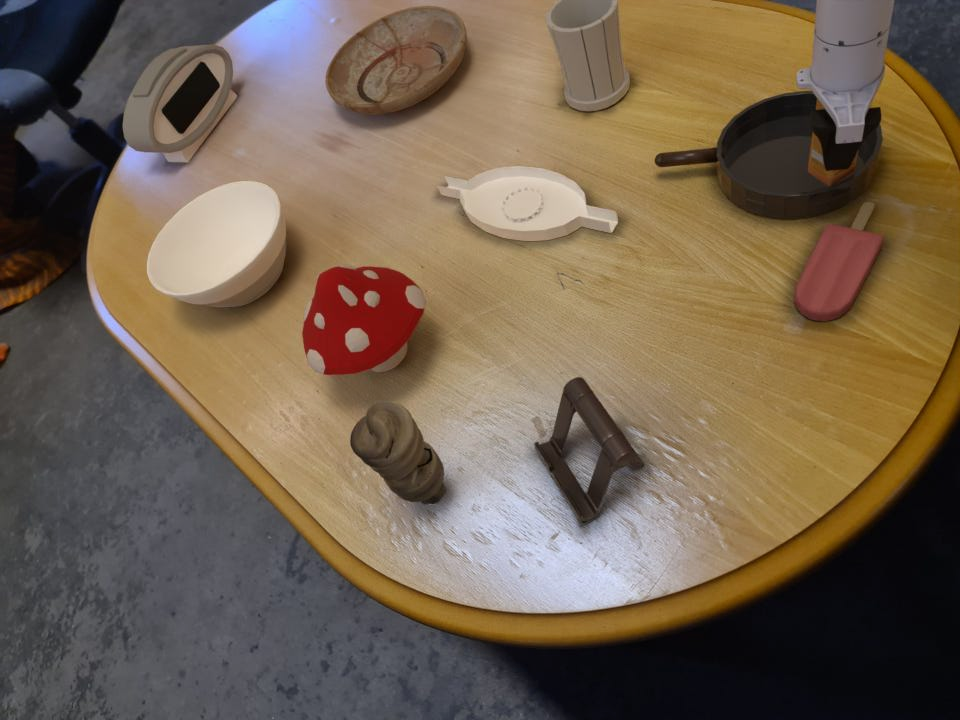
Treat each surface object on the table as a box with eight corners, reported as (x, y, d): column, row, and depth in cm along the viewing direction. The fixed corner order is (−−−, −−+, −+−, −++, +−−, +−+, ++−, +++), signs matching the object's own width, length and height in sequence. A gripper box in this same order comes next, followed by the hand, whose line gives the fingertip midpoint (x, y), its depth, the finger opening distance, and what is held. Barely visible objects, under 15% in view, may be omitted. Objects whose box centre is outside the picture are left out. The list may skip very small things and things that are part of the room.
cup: (545, 113, 95) (523, 33, 85) (566, 70, 99) (547, -11, 89) (620, 113, 90) (605, 29, 81) (639, 68, 94) (627, -18, 84)
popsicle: (900, 203, 68) (844, 319, 63) (897, 214, 69) (842, 329, 64) (842, 192, 71) (784, 303, 66) (840, 203, 72) (783, 312, 67)
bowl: (168, 284, 100) (128, 246, 93) (276, 203, 103) (245, 160, 96) (216, 359, 88) (173, 322, 82) (336, 265, 91) (305, 221, 84)
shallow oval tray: (464, 163, 94) (460, 153, 93) (634, 195, 81) (632, 184, 80) (424, 218, 91) (419, 208, 89) (594, 261, 78) (591, 250, 76)
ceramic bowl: (311, 121, 112) (295, 95, 108) (391, 29, 120) (379, 2, 116) (422, 140, 100) (408, 111, 96) (502, 37, 108) (493, 7, 104)
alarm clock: (180, 176, 115) (126, 114, 105) (155, 175, 118) (100, 114, 108) (250, 84, 125) (206, 18, 115) (225, 85, 128) (180, 21, 118)
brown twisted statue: (442, 457, 70) (380, 381, 58) (476, 491, 67) (418, 418, 55) (401, 497, 69) (329, 427, 57) (433, 533, 66) (364, 468, 54)
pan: (871, 108, 78) (875, 82, 75) (883, 214, 70) (889, 189, 67) (719, 125, 83) (718, 101, 81) (715, 224, 75) (714, 201, 73)
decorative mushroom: (449, 297, 82) (398, 206, 70) (448, 397, 74) (391, 314, 62) (341, 321, 85) (275, 238, 73) (329, 419, 77) (253, 344, 65)
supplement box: (831, 189, 70) (841, 108, 62) (806, 172, 72) (813, 92, 64) (858, 172, 70) (872, 89, 62) (832, 156, 72) (843, 73, 65)
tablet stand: (536, 452, 67) (514, 410, 61) (607, 411, 67) (591, 365, 61) (581, 527, 62) (562, 490, 55) (658, 482, 62) (647, 440, 55)
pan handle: (724, 154, 78) (724, 143, 77) (724, 164, 77) (724, 153, 76) (655, 161, 81) (654, 150, 80) (654, 170, 80) (653, 160, 79)
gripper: (797, -16, 63) (790, 107, 74) (802, 87, 56) (793, 206, 67) (885, -31, 61) (865, 98, 72) (902, 75, 54) (876, 201, 64)
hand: (835, 150), depth 69 cm, fingers closed on supplement box, 4 cm apart
